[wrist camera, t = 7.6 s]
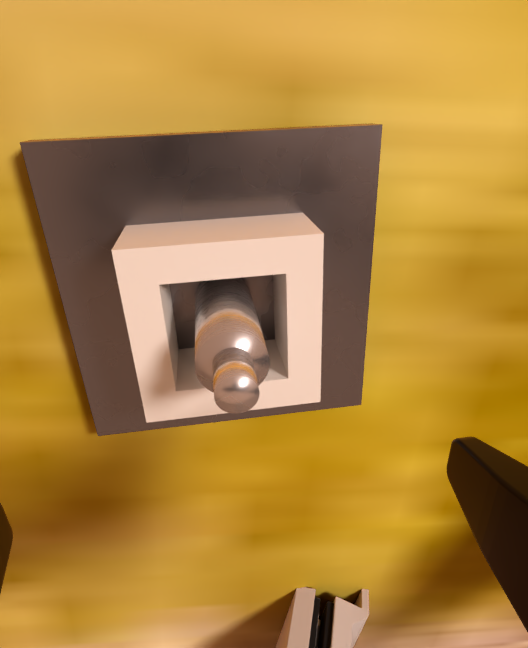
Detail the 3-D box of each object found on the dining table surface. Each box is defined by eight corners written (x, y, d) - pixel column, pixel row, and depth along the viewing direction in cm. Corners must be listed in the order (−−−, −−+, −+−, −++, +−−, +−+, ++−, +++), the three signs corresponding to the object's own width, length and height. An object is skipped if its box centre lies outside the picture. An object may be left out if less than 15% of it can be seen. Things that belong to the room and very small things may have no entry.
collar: (302, 212, 16) (323, 233, 14) (303, 360, 19) (320, 401, 16) (125, 225, 16) (111, 250, 13) (153, 377, 18) (146, 422, 16)
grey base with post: (372, 123, 16) (495, 136, 10) (354, 392, 22) (425, 520, 15) (30, 140, 15) (-103, 168, 8) (102, 421, 20) (56, 575, 14)
